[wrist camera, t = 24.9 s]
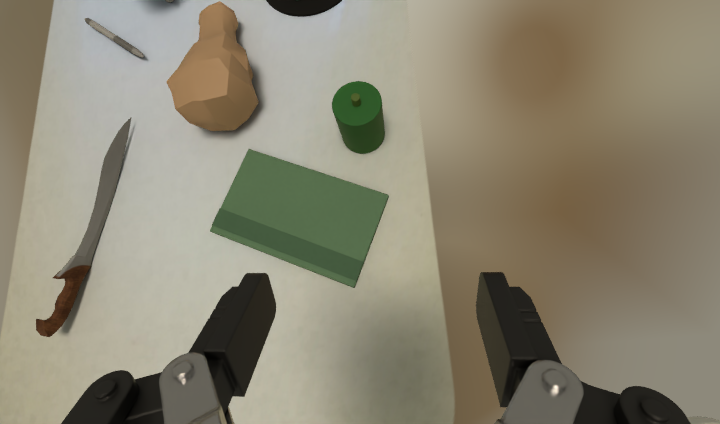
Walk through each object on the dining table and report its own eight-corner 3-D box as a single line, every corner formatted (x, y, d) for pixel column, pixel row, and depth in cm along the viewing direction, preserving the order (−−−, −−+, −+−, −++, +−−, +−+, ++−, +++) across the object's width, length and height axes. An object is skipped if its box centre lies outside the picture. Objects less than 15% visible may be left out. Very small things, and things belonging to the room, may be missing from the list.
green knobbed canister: (390, 121, 46) (388, 81, 38) (375, 158, 45) (370, 126, 37) (351, 110, 47) (341, 69, 39) (336, 146, 46) (322, 112, 38)
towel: (388, 196, 43) (388, 194, 43) (354, 287, 41) (353, 287, 40) (250, 150, 47) (248, 148, 47) (211, 232, 45) (209, 230, 44)
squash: (201, 152, 48) (145, 115, 40) (204, 48, 56) (158, 0, 48) (269, 128, 46) (225, 83, 38) (262, 23, 54) (224, -33, 46)
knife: (38, 339, 40) (115, 103, 46) (28, 337, 40) (106, 102, 46) (73, 335, 44) (139, 119, 50) (64, 333, 44) (131, 118, 50)
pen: (92, 21, 56) (85, 14, 55) (150, 58, 53) (143, 52, 52) (88, 25, 56) (80, 19, 55) (145, 63, 53) (139, 57, 52)
